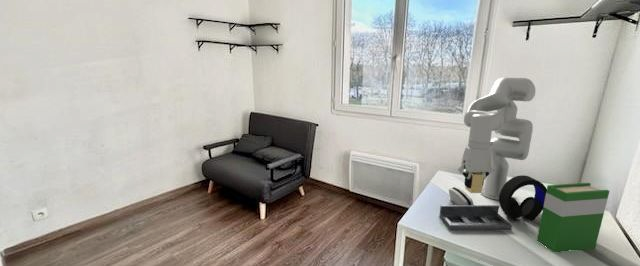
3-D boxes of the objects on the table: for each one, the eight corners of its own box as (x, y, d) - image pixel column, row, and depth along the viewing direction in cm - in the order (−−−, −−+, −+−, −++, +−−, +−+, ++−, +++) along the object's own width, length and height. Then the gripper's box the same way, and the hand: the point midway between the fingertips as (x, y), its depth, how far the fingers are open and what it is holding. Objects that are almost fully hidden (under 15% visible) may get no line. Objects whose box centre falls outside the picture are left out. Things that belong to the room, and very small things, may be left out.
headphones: (505, 223, 126) (511, 181, 121) (495, 215, 132) (501, 175, 127) (544, 221, 127) (552, 179, 122) (532, 214, 133) (540, 174, 129)
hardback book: (575, 237, 115) (588, 182, 110) (594, 248, 108) (609, 190, 102) (536, 241, 113) (547, 185, 107) (553, 252, 106) (566, 193, 100)
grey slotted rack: (495, 217, 131) (497, 205, 129) (511, 230, 120) (513, 218, 119) (439, 216, 131) (440, 205, 130) (449, 230, 121) (450, 217, 119)
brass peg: (475, 188, 120) (477, 170, 118) (481, 193, 116) (483, 174, 114) (465, 188, 120) (467, 170, 118) (470, 193, 116) (472, 174, 114)
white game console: (479, 214, 133) (475, 196, 131) (470, 218, 133) (465, 200, 131) (459, 198, 149) (455, 182, 147) (450, 201, 149) (446, 185, 147)
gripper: (494, 142, 117) (488, 183, 122) (453, 142, 117) (449, 183, 121) (505, 147, 110) (499, 190, 114) (462, 147, 110) (457, 191, 114)
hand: (473, 186), depth 118 cm, fingers closed on brass peg, 4 cm apart
